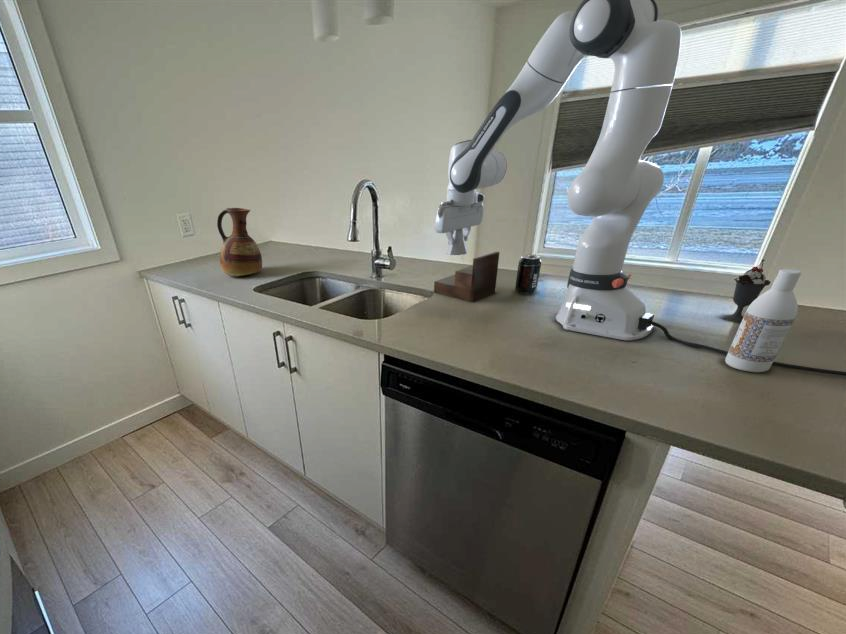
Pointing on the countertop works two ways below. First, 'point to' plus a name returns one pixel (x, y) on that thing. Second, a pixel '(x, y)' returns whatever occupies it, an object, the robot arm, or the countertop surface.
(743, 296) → the sundae
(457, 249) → the flask
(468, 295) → the spice rack
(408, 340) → the countertop surface
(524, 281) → the beverage can
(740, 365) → the bath foam
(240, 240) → the ceramic pitcher
